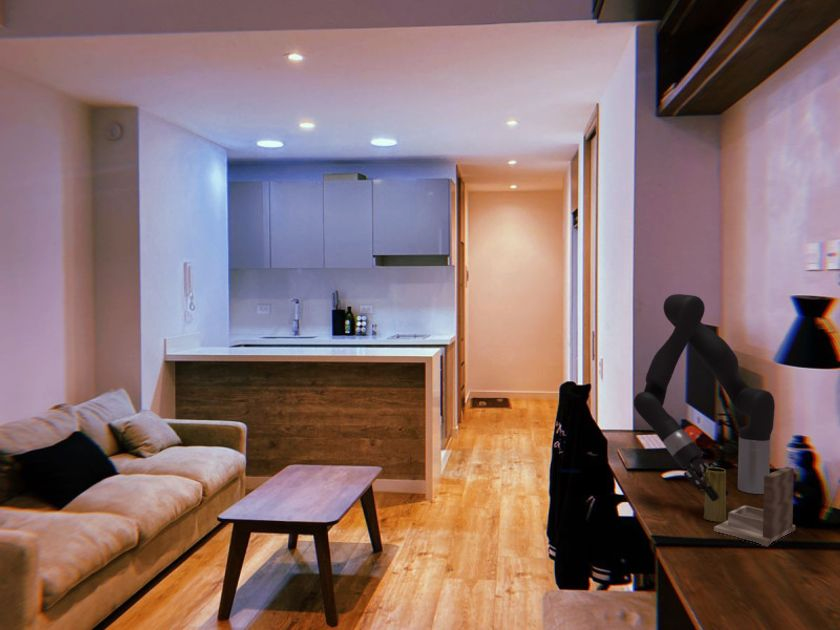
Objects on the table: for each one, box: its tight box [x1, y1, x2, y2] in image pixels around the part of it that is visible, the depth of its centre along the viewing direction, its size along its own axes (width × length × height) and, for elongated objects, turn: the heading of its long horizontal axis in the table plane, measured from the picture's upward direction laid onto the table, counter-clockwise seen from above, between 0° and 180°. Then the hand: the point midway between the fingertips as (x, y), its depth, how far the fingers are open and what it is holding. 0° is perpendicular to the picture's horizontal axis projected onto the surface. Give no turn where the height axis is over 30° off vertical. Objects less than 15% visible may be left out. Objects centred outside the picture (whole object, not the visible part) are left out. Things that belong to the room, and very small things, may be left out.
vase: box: [703, 466, 728, 523], centre depth 201 cm, size 6×6×14 cm
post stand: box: [713, 466, 796, 548], centre depth 191 cm, size 18×14×18 cm
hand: (721, 497), depth 200 cm, fingers open, 5 cm apart
